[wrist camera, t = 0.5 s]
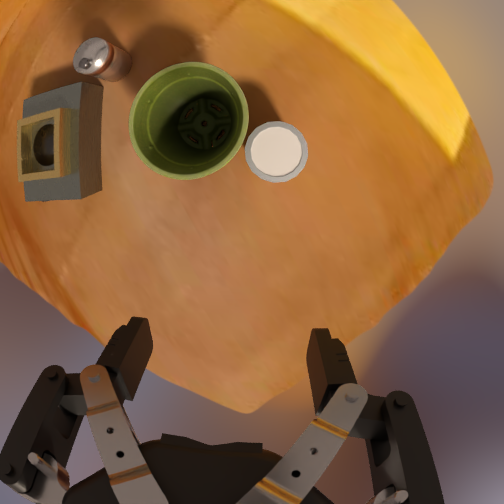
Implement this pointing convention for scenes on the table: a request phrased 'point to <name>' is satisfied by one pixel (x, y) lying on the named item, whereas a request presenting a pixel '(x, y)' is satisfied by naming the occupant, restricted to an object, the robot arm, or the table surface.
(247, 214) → the table surface
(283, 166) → the white cylinder
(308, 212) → the table surface
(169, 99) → the plant pot
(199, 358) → the table surface
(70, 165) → the grey block with socket
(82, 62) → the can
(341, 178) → the table surface
